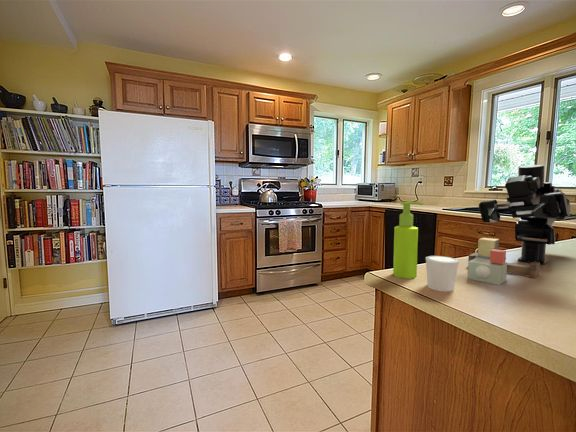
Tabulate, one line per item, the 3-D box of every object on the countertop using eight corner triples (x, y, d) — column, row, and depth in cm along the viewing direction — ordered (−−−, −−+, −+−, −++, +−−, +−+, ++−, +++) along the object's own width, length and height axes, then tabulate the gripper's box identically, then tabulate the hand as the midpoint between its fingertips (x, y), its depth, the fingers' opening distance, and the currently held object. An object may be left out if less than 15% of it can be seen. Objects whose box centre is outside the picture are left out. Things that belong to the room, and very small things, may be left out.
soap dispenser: (423, 279, 74) (425, 202, 73) (395, 277, 76) (397, 202, 74) (417, 272, 80) (420, 201, 78) (391, 271, 82) (393, 201, 80)
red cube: (492, 260, 74) (493, 249, 74) (505, 262, 72) (506, 250, 72) (489, 262, 72) (490, 250, 72) (502, 264, 70) (503, 252, 70)
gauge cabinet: (475, 273, 79) (476, 257, 78) (506, 279, 73) (507, 262, 73) (467, 278, 75) (468, 261, 74) (498, 285, 69) (499, 266, 69)
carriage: (474, 266, 84) (475, 239, 84) (480, 263, 88) (481, 237, 87) (494, 270, 81) (496, 241, 80) (500, 266, 84) (501, 239, 83)
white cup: (430, 280, 73) (431, 253, 73) (461, 287, 68) (462, 258, 68) (420, 287, 68) (421, 258, 68) (452, 294, 64) (453, 263, 63)
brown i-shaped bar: (468, 266, 86) (468, 255, 86) (473, 263, 89) (474, 252, 89) (535, 278, 74) (536, 265, 74) (538, 274, 77) (539, 262, 77)
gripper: (485, 181, 90) (464, 191, 81) (566, 168, 75) (551, 178, 66) (492, 215, 91) (472, 229, 82) (574, 209, 76) (560, 225, 67)
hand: (509, 215), depth 74 cm, fingers open, 9 cm apart
